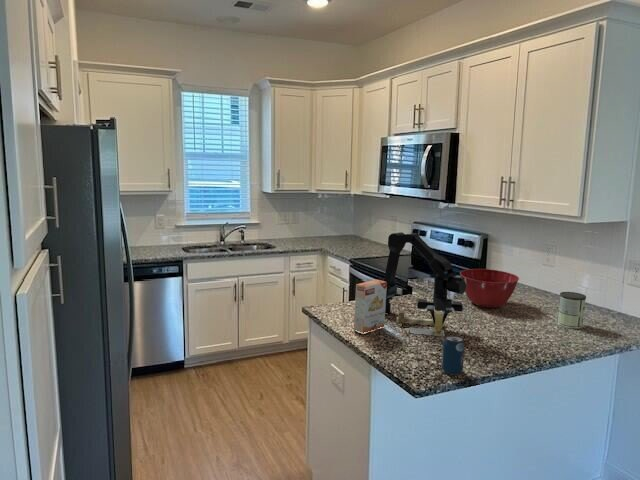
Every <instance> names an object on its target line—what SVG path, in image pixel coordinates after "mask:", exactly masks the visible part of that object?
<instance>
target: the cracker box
mask: <svg viewBox="0 0 640 480" xmlns="http://www.w3.org/2000/svg"><path fill="white" fill-rule="evenodd" d="M386 290H387V282H385V281H383V280H381V279H373V280H370V281H365V282H360V283H357V284H355V298H354V317H353V318H354V319H353V320H354V322H353V331H354V330H357V331H360V332H363V333H364V332H368V331H371V330H374V329H377V328H380V327H384V328H385V321H386V320H385V318H386V315H385V306H386Z"/></svg>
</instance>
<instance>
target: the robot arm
mask: <svg viewBox="0 0 640 480" xmlns="http://www.w3.org/2000/svg"><path fill="white" fill-rule="evenodd" d="M406 243H409V244H411V245H412V246H413V247H414V248H415V249H416V250H417V252H418V253H420V254H421V256H423V257H424V259H425V260H427V262H428V264H429V267H430V268H431V271H433V273H432V274H431V275H429V277H430V278H432V279H433V293H432V296H433V297H432V301H427V299H426V298H418V299H417V301H416V307H417V308H416V309H421V310H425V309H426V310H427V311H428V312H429V313H430V314H431V315H430V316H431V317H432V318H431V319H433V322H434V324H435V312H441V311H442V313H443V320H442V325H443V326H444V323H445V320H446V318H447V317H448V315H449V314H450V313H453V311H455V312H463V311H464V306H463V304H462V302H461V301H455V300H454V301H453V299H450V298H448V292H451V293H455V294H458V295H459V294H460V295H464V293H465V290H466V283H465V281H464V278H463V277H461V276H457V274H456V273H455V271H454V269H453V267H452V264H451V262H450V260H449V259H447V258H446V257H444V256H442V255H440V254H438V253H437V252H435V250H433V249H432V248H431V247H430V246H429V245H428V244H427V243H426V242H425V241H424V240H423V239H422V238H421V236H420V234H419V233H406V234H405V233H404V232H401V231H399V232H393V233H391V234H389V235H388V239H387V247H388V250H389V253H388V258H387V262H386V268H385V271H384V277H383V280H382V281H385V282H387V290H386V306H385V313H389V314H390V313H391V310H392V309H391V305H392V304H391V302H390V301H391V300H393V299H394V296H395V295H396V294H398V292H397V290H398V287H399V285H398V284H396V282H395V279H396V275H397V270H398V267H399V260H400V254H401V253H402V251H403V249H404V248H405V246H406Z"/></svg>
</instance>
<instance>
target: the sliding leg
mask: <svg viewBox="0 0 640 480" xmlns="http://www.w3.org/2000/svg"><path fill="white" fill-rule="evenodd" d="M434 314H435V324H434V326H433V327H434V328H435V329H436V330H438V331H440V330H443V327H442V320H443V311H442V312H441V311H434ZM434 328H433V329H434Z"/></svg>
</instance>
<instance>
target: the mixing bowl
mask: <svg viewBox="0 0 640 480" xmlns="http://www.w3.org/2000/svg"><path fill="white" fill-rule="evenodd" d="M459 275H460V277H463V278H464V281H465V283H466V290H465V292H464V293H465V295H466V297H467V298H468V300H469V301H470V302H471V303H473V305H475V304H476V306H478V307H481V306H482V308H490V309H494V308H495V309H496V308H499V307H502V306H503V305H505V304H506V303H507V302H508V301H509V300H510V298H511V297H512V295H513V293H514V291H515V289H516V287H517V284H518V282H519V280H520V277H519V276H518V275H517V274H514V273H512V272H511V273H510V272H507V271H503V270H497V269H488V268H471V269H464V270H461V271H460V272H459Z"/></svg>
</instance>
